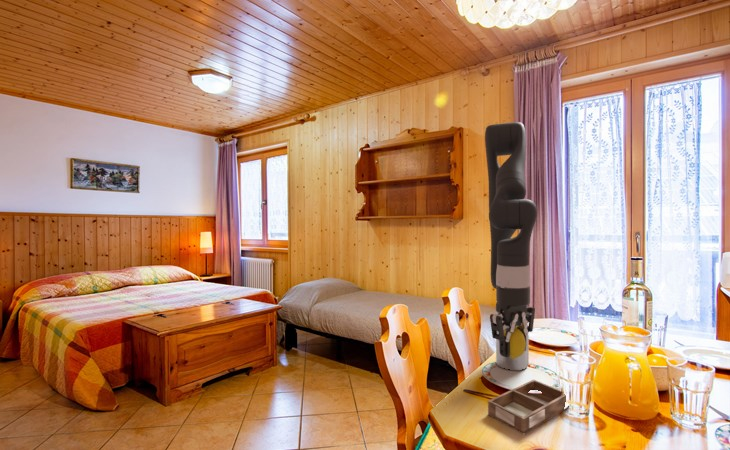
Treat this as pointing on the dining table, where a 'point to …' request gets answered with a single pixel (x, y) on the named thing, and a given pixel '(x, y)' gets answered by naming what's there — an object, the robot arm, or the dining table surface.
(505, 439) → the dining table surface
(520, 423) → the tray
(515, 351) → the lemon
